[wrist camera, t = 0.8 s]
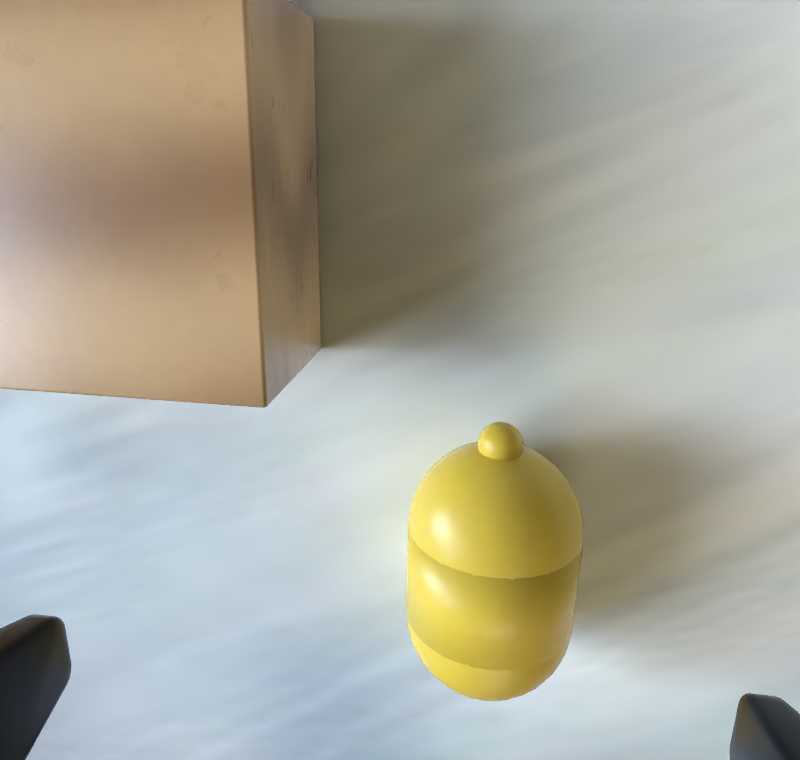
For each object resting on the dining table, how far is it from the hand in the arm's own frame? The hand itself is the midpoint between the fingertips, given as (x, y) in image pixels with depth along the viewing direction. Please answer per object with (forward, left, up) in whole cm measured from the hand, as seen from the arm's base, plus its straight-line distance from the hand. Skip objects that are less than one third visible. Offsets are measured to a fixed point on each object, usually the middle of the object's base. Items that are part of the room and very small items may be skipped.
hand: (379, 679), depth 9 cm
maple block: (+5, +8, -12) cm, 16 cm away
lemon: (-5, -2, -12) cm, 13 cm away
